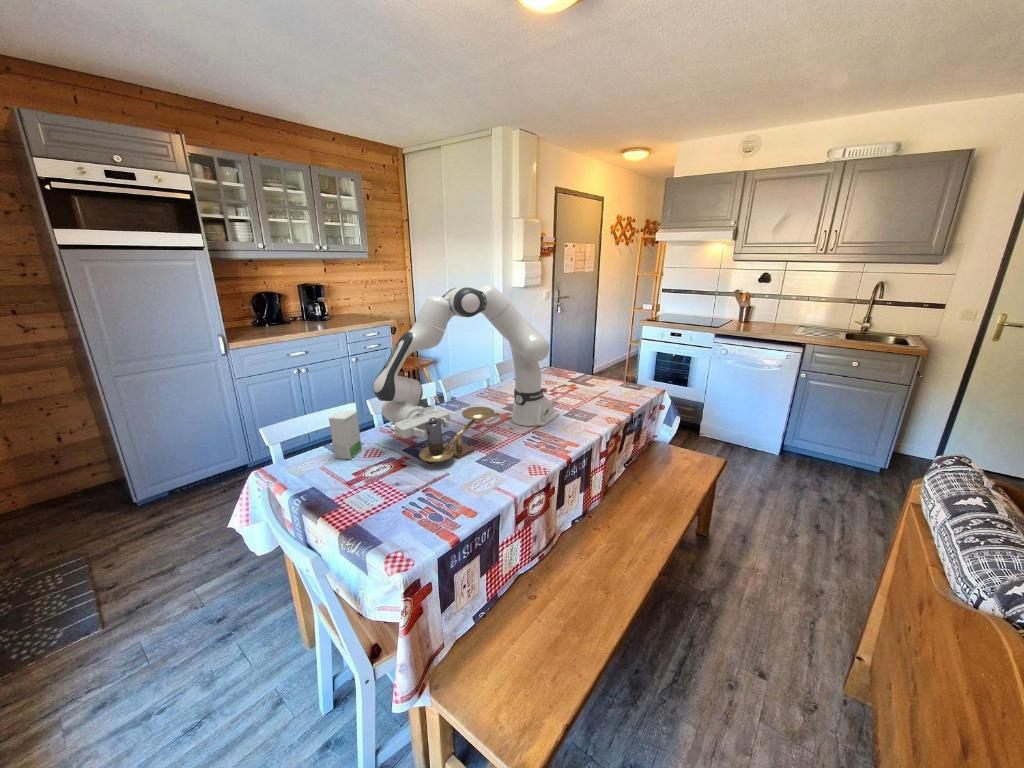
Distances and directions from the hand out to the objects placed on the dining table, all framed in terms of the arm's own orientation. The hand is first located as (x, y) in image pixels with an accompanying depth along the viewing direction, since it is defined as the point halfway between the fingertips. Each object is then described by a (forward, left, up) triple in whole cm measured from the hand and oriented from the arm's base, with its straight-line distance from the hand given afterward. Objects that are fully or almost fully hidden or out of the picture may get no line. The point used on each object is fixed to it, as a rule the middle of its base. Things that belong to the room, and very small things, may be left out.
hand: (436, 429), depth 138 cm
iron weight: (0, -1, -9) cm, 9 cm away
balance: (-10, -1, -13) cm, 16 cm away
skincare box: (+18, -30, -13) cm, 37 cm away
